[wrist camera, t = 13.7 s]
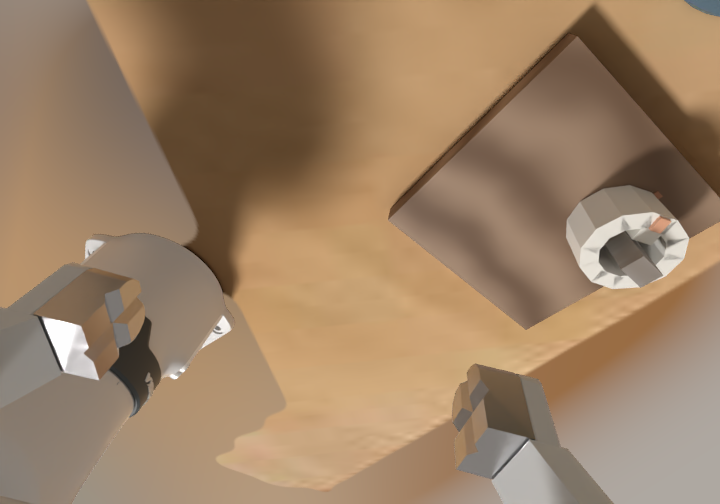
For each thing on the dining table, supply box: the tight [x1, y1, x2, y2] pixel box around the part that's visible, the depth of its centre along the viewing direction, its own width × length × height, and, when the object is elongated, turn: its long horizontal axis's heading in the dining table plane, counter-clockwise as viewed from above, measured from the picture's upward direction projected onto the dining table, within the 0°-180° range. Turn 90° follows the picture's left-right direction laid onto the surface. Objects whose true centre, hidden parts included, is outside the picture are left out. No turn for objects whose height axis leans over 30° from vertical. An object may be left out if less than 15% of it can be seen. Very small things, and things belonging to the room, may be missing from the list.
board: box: [388, 33, 720, 330], centre depth 29 cm, size 18×18×8 cm
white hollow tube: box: [566, 185, 689, 289], centre depth 28 cm, size 6×6×4 cm
